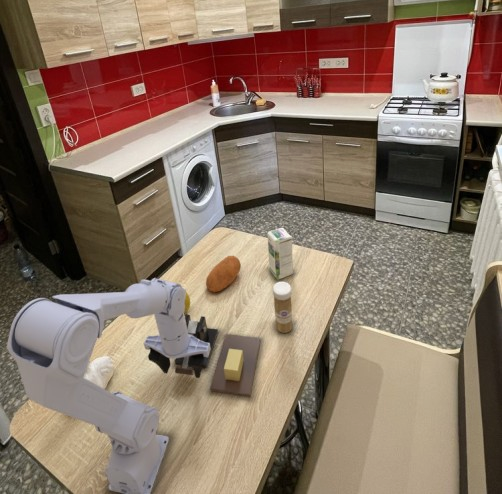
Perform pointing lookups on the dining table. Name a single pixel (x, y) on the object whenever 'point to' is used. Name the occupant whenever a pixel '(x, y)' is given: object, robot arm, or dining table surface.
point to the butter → (233, 364)
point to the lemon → (187, 303)
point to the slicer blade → (184, 369)
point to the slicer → (203, 335)
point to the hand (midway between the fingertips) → (183, 371)
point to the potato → (223, 274)
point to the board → (248, 369)
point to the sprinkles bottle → (283, 306)
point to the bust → (100, 371)
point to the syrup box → (280, 253)
